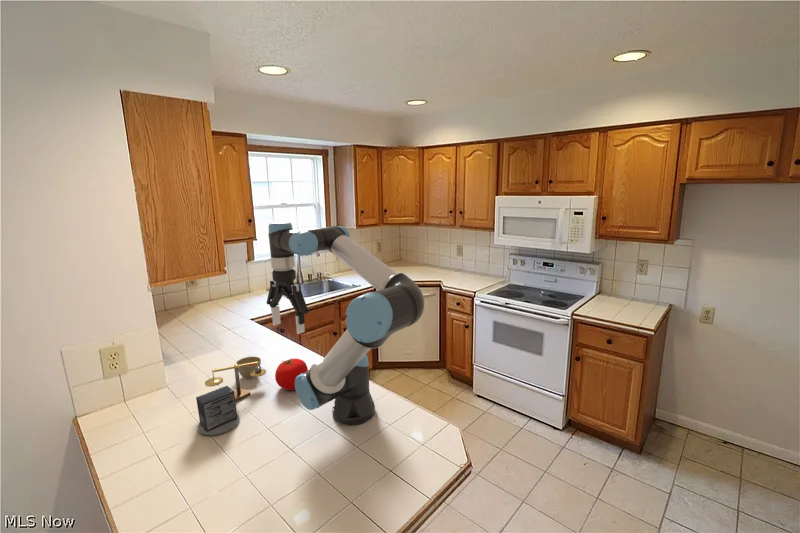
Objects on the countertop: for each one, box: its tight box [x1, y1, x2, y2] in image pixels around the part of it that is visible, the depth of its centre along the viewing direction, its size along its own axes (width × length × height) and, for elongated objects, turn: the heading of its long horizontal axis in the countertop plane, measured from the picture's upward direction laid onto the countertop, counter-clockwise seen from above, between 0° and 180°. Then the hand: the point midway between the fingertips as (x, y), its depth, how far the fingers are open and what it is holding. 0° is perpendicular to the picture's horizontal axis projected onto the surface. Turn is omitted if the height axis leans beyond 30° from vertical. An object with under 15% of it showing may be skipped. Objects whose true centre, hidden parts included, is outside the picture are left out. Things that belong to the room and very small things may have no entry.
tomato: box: [274, 357, 309, 391], centre depth 154 cm, size 12×14×11 cm
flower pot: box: [235, 356, 262, 381], centre depth 163 cm, size 10×10×7 cm
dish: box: [197, 412, 241, 437], centre depth 130 cm, size 13×13×1 cm
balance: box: [204, 362, 267, 403], centre depth 147 cm, size 6×24×15 cm, turn 142°
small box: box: [195, 385, 238, 432], centre depth 129 cm, size 11×6×10 cm, turn 136°
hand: (288, 328), depth 131 cm, fingers open, 13 cm apart
